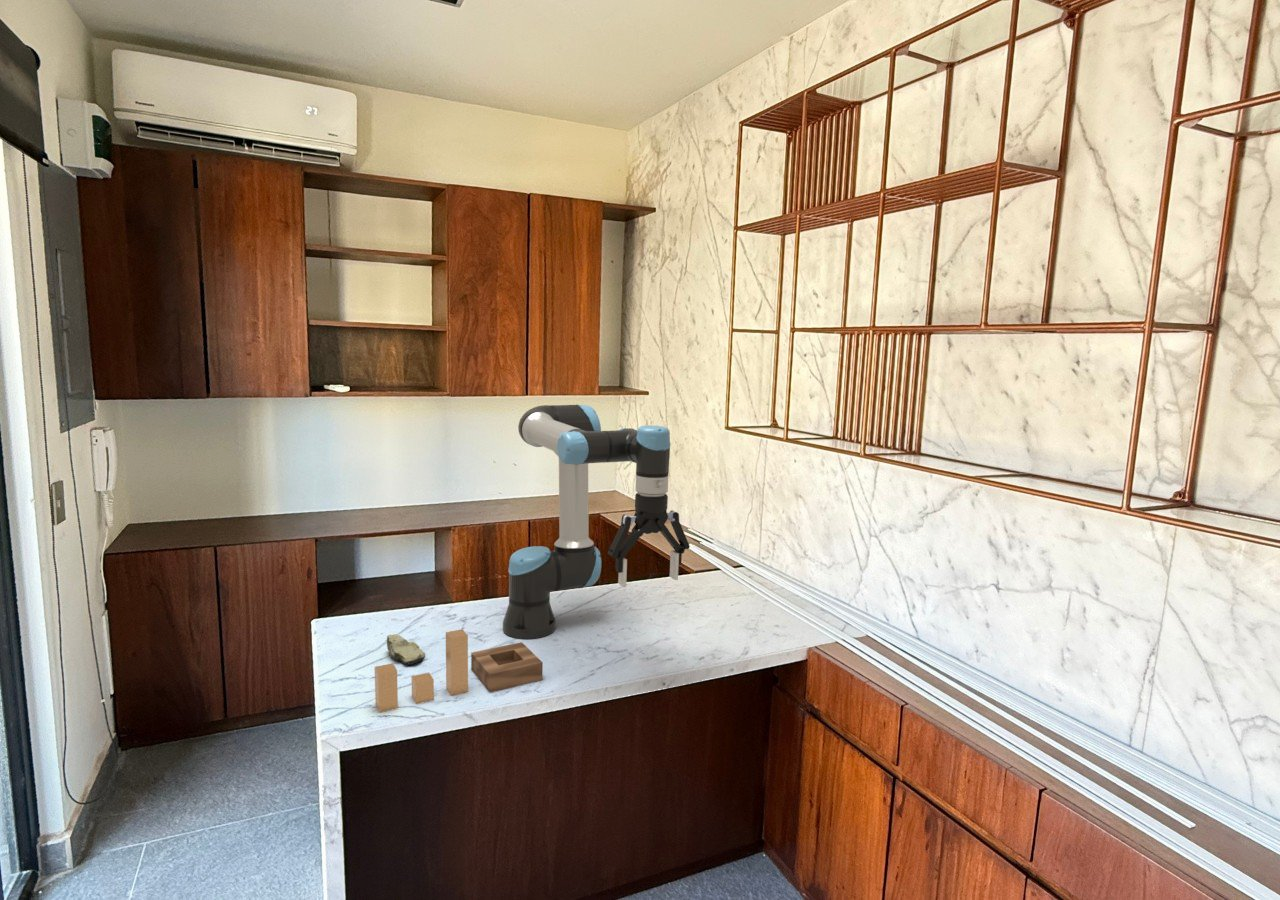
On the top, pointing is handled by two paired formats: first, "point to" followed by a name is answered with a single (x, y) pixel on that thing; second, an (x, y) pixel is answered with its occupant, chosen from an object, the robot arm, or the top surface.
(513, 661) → the hole block
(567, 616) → the top surface
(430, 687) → the short pin
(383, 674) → the medium pin
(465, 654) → the long pin
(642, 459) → the robot arm
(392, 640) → the rock
